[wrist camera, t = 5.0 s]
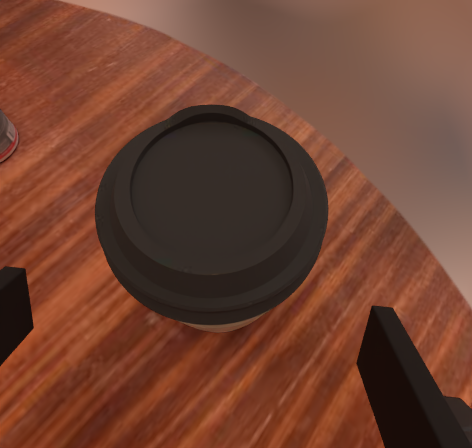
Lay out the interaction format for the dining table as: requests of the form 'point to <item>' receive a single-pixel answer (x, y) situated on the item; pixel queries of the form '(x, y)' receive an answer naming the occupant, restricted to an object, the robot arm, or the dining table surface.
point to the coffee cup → (211, 217)
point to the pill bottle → (7, 137)
